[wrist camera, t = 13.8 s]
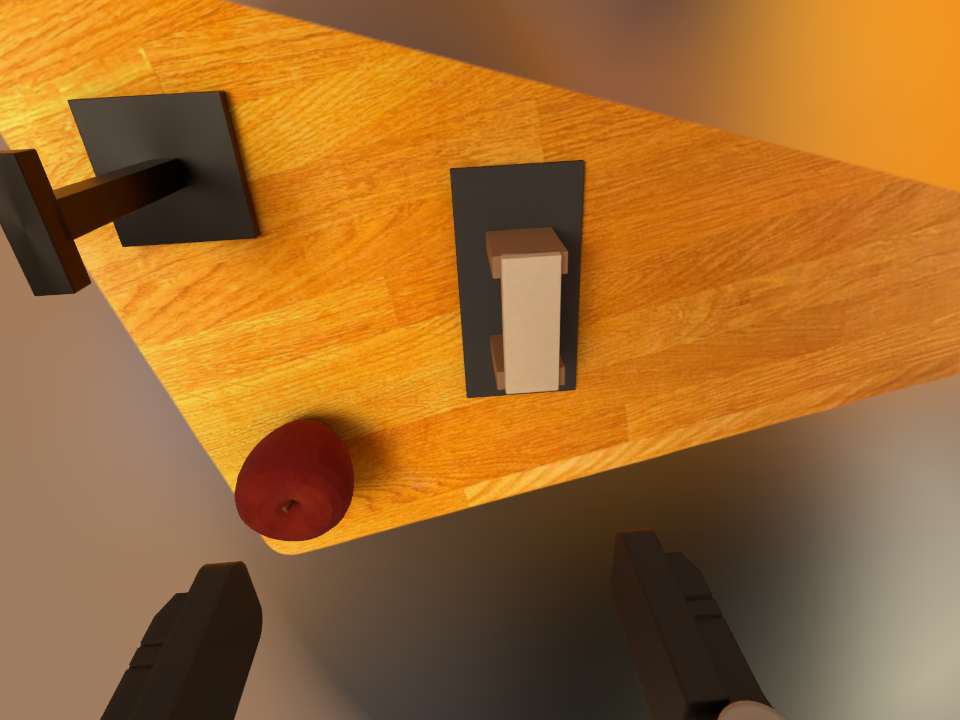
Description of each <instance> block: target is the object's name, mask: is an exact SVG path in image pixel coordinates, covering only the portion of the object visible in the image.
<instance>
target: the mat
mask: <svg viewBox="0 0 960 720" xmlns="http://www.w3.org/2000/svg"><path fill="white" fill-rule="evenodd" d="M450 175H451V189H452V202H453V216H454V229H455V243H456V256H457V270H458V284H459V297H460V311H461V324H462V338H463V351H464V365H465V379H466V392H467V398H475V397H488V396H502V395H515V394H506V391H505V389H503V390H498V389H497V384H496V378H495V372H494V366H493V361H492V355H491V343H490V335H498V334H503V322H502V293H501V278H497V279H493V277H492V272H491V268H490V264H489V260H488V256H487V251H486V235H485V232H486V231H497V230H512V229H527V228H542V227H552V229H553V230H554V232H555V233H556V235H557V236H558V238H559V239H560V241H561V242H562V244H563V245H564V247H565V248H566V249H567V251H568V273H567V274H561V302H560V346H559V354H560V357H561V359H562V361H563V364H564V366H565V384H564V385H559V390H556V391H568V390H575V385H576V360H577V335H578V310H579V285H580V260H581V235H582V210H583V185H584V161H583V160H577V161H561V162H545V163H529V164H514V165H498V166H482V167H466V168H451V169H450ZM543 392H554V391H543ZM530 393H541V392H530ZM516 394H528V393H516Z"/></svg>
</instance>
